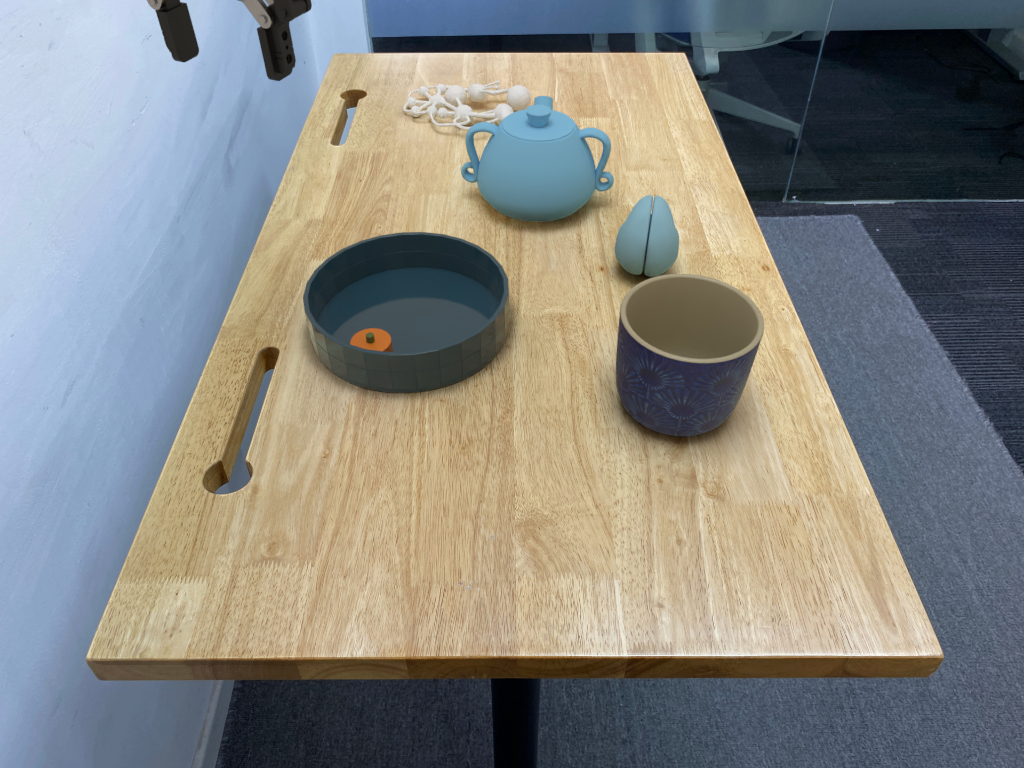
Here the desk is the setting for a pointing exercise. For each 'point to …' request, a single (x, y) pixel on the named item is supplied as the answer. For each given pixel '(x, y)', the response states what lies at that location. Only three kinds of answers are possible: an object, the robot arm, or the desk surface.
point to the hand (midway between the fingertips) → (233, 67)
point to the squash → (372, 340)
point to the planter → (685, 352)
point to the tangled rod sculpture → (457, 96)
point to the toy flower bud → (648, 238)
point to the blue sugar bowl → (537, 164)
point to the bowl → (408, 310)
